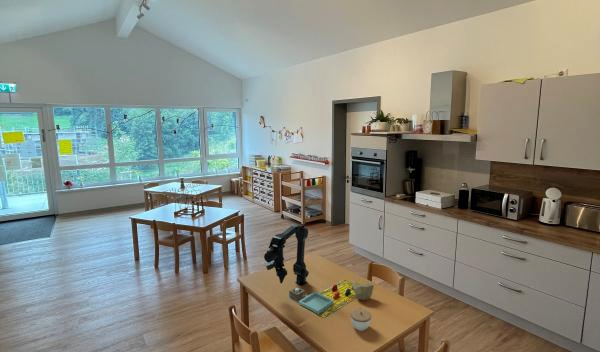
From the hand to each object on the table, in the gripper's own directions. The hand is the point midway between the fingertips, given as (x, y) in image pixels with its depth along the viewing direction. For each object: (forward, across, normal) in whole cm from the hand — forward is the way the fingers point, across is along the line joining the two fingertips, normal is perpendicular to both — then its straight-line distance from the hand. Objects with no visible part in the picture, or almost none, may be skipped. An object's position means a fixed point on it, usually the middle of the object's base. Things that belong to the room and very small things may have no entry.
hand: (279, 279), depth 206 cm
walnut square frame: (+13, +1, +11) cm, 17 cm away
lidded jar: (+14, +40, +36) cm, 55 cm away
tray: (+13, +12, +20) cm, 27 cm away
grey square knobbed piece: (+13, +1, +11) cm, 17 cm away
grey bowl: (+14, +12, +49) cm, 53 cm away
